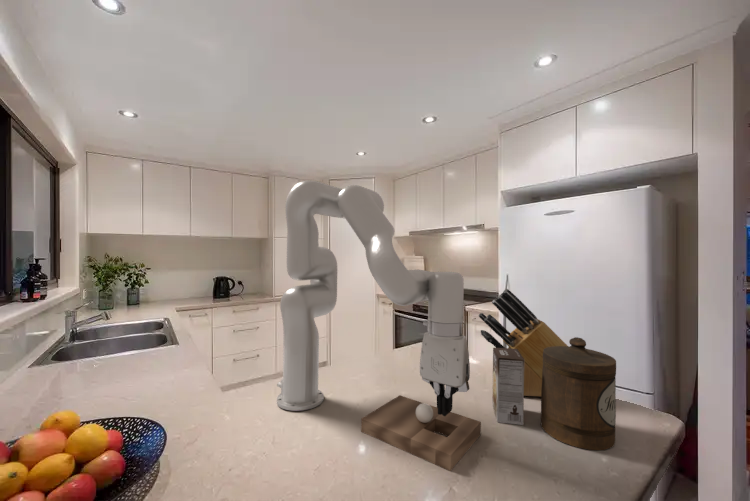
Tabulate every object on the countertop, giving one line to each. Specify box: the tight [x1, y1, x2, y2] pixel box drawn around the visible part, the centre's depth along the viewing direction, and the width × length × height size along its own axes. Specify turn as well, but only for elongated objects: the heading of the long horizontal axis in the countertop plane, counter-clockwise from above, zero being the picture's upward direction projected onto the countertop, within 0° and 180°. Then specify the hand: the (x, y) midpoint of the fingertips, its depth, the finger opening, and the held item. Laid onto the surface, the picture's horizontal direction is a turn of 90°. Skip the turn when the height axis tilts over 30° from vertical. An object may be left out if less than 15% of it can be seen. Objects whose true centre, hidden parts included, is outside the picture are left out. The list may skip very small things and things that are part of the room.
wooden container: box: [540, 336, 617, 451], centre depth 78 cm, size 15×15×22 cm
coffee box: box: [492, 347, 525, 426], centre depth 85 cm, size 9×6×16 cm
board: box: [360, 395, 482, 472], centre depth 76 cm, size 22×16×3 cm
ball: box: [415, 402, 433, 423], centre depth 75 cm, size 4×4×4 cm
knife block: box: [478, 288, 568, 397], centre depth 100 cm, size 11×35×31 cm, turn 83°
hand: (444, 412), depth 72 cm, fingers closed
